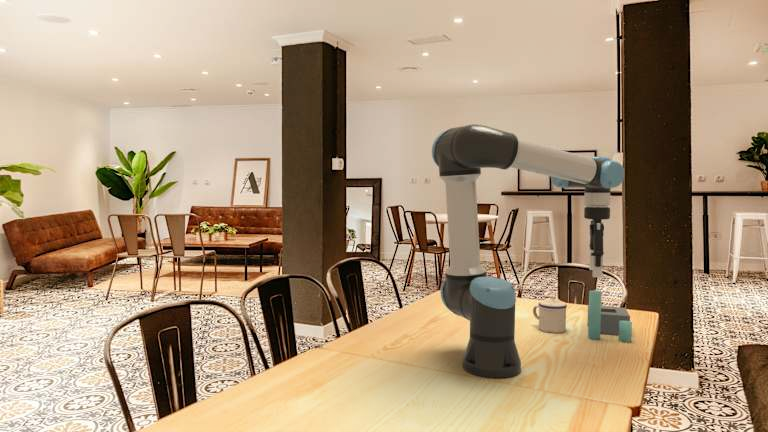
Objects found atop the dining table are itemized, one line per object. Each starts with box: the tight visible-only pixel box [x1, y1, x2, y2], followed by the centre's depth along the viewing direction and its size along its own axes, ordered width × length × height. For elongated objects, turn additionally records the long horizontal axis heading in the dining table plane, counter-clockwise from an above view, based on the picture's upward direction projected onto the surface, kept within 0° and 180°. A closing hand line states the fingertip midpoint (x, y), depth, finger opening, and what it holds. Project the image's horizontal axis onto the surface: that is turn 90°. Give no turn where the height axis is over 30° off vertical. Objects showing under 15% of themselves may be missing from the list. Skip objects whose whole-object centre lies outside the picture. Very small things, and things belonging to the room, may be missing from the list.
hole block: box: [586, 304, 631, 336], centre depth 178 cm, size 12×12×6 cm
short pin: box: [618, 320, 633, 344], centre depth 165 cm, size 4×4×6 cm
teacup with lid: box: [532, 294, 568, 334], centre depth 179 cm, size 12×9×12 cm
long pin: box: [587, 289, 602, 341], centre depth 168 cm, size 4×4×15 cm
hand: (595, 273), depth 167 cm, fingers open, 13 cm apart
